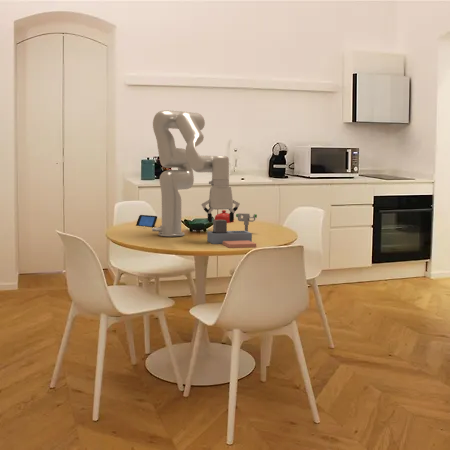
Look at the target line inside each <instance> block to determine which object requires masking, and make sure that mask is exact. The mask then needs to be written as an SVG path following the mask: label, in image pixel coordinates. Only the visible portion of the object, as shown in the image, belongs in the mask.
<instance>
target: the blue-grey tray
mask: <svg viewBox="0 0 450 450" xmlns="http://www.w3.org/2000/svg"><path fill="white" fill-rule="evenodd" d="M206 235H207V238H206V239H207V242H208V243H210V244H211V245H223V241H247V240H249V241H251V242H253V240H252V238H253V232H250V231H249V230H248V231H245V230H227V233H213V230H209V231H207V233H206Z"/></svg>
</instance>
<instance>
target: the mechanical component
mask: <svg viewBox="0 0 450 450" xmlns="http://www.w3.org/2000/svg"><path fill="white" fill-rule="evenodd" d="M235 217H236V218H237V221H238V222H243V225H244V231H248V232H249V224H250V223H253V222H254V221H256V218H257V217H258V215H257V214H256V213H253V215H252V216H251V215H250V213H236V215H235ZM250 219H252V220H250Z"/></svg>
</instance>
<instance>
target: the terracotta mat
mask: <svg viewBox="0 0 450 450" xmlns="http://www.w3.org/2000/svg"><path fill="white" fill-rule="evenodd" d="M222 246H225V247H227V248H229V249H240V248H245V249H246V248H257V242H253V241H252V242H251V241H249V240H247V241H223V244H222Z"/></svg>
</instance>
